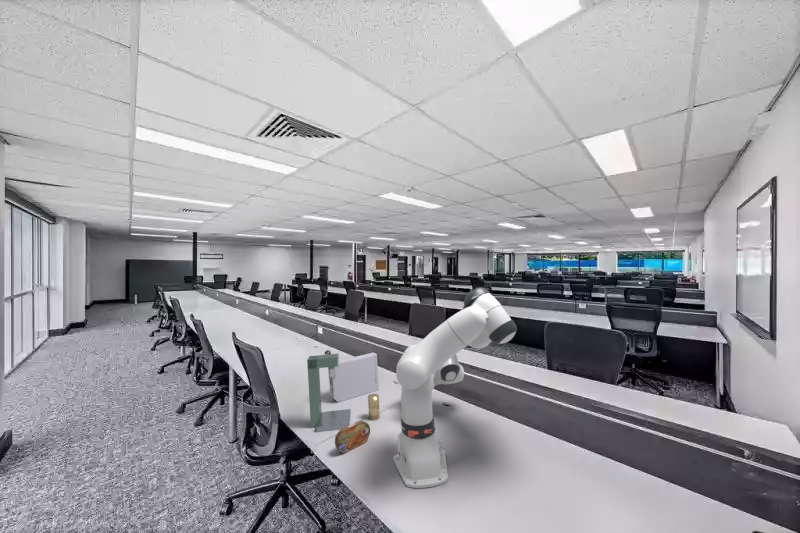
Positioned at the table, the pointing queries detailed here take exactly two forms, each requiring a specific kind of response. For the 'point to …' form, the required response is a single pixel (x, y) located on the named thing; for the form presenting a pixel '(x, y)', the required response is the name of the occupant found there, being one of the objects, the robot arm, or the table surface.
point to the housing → (373, 406)
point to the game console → (355, 377)
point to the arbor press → (317, 417)
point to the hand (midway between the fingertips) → (399, 378)
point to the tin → (352, 436)
